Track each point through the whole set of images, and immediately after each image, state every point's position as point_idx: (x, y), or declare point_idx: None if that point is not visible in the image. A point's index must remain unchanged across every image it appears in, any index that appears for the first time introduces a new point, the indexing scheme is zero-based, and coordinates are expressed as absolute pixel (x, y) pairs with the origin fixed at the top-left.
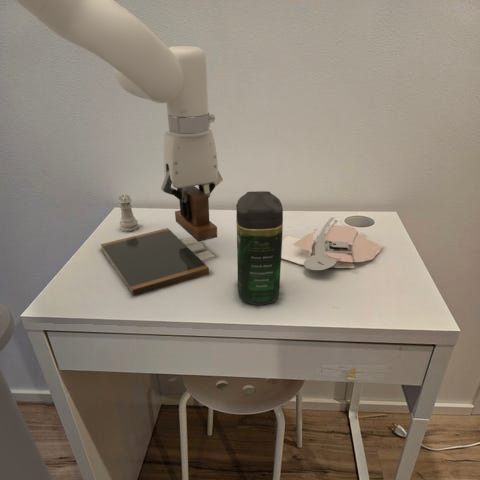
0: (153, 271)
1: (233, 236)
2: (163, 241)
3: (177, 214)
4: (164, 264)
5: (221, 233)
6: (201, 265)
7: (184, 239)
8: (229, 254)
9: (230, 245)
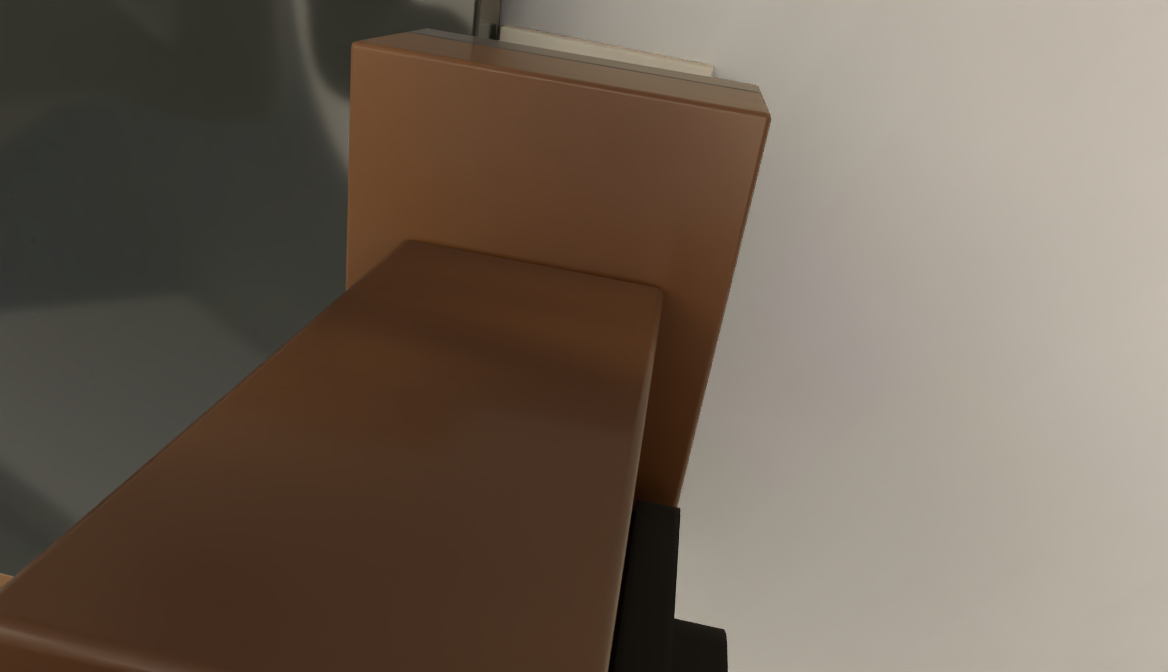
0: (36, 486)
1: (1097, 350)
2: (283, 46)
3: (354, 181)
4: (141, 460)
5: (1070, 190)
6: None
7: (587, 52)
8: (754, 579)
9: (895, 474)
